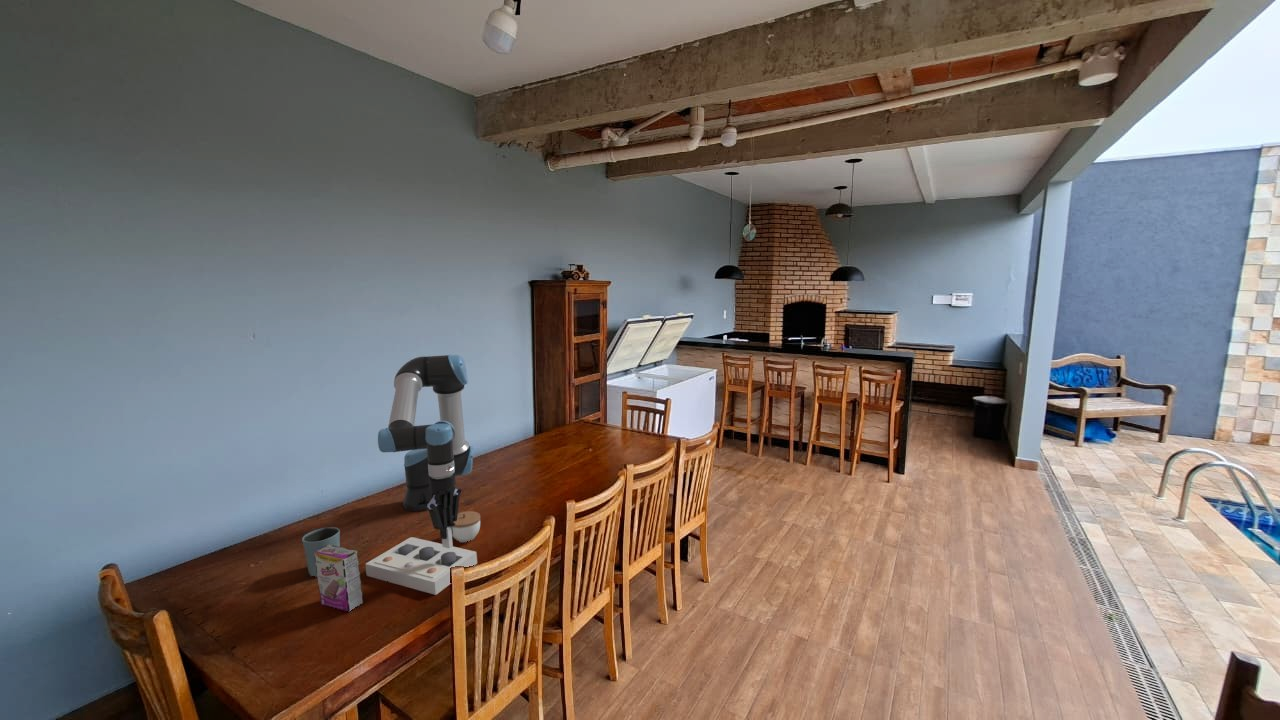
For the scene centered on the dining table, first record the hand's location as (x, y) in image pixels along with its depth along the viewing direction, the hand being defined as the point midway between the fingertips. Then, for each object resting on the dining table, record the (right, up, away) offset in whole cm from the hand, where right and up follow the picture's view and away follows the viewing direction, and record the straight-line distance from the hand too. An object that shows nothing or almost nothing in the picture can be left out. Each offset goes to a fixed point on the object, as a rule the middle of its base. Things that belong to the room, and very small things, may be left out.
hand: (447, 546), depth 157 cm
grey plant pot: (-41, -9, +4) cm, 42 cm away
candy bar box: (-25, -11, -14) cm, 31 cm away
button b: (-8, -6, +4) cm, 11 cm away
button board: (-9, -8, +3) cm, 13 cm away
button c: (0, -6, +1) cm, 6 cm away
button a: (-17, -6, +8) cm, 19 cm away
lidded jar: (-2, -6, +22) cm, 23 cm away
